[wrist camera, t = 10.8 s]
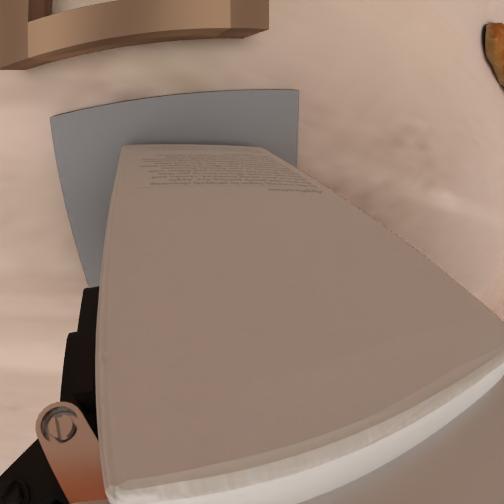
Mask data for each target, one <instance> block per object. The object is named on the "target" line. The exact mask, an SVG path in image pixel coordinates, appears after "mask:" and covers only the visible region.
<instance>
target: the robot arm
mask: <svg viewBox="0 0 504 504" xmlns="http://www.w3.org/2000/svg"><path fill="white" fill-rule="evenodd" d="M99 287H100V286H97V287H91V288H85V289H84V291H83V297H82V303H81V309H80V316H79V323H78V330H77V332H72V333H69V334H68V337H67V343H66V350H65V357H64V366H63V375H62V385H61V397H60V402H56V403H53V404H50V405H49V406H47V407H46V408H44V409H43V411H42V412H41V413H40V414H39V416H38V418H37V421H36V433H37V437H38V439H37V440H36V441H35V442H34V443H33V444H32V445H31V446H30V447H29V448H28V449H27V450H26V451H25V452H24V453H23V454H22V455H21V456H20V457H19V458H18V459H17V460H16V461H15V462H14V463H13V464H12V465H11V466H10V467H9V468H8V469H7V470H6V471H5V472H4V473H3V474H2V475H1V476H0V504H111V503H110V502H109V501H108V498H107V495H106V493H105V488H104V481H103V474H102V466H101V458H100V449H99V438H98V425H97V410H96V379H95V353H96V325H97V312H98V300H99ZM297 504H504V375H503V377H502V378H501V379H500V380H499V381H498V382H497V383H496V384H495V385H494V386H493V387H492V388H491V389H490V390H489V391H487V392H486V393H485V394H484V395H483V396H482V397H481V398H480V399H478V400H477V401H476V402H475V403H473V404H472V405H471V406H470V407H468V408H467V409H466V410H465V411H463V412H462V413H461V414H459V415H458V416H457V417H455V418H454V419H453V420H452V421H450V422H449V423H448V424H446V425H445V426H443V427H442V428H441V429H439V430H438V431H436V432H435V433H434V434H432V435H431V436H429V437H428V438H426V439H425V440H423V441H422V442H420V443H419V444H417V445H416V446H414V447H413V448H411V449H410V450H408V451H406V452H405V453H403V454H401V455H400V456H398V457H397V458H395V459H393V460H391V461H390V462H388V463H386V464H384V465H383V466H381V467H379V468H377V469H375V470H373V471H372V472H370V473H368V474H366V475H364V476H362V477H360V478H358V479H356V480H354V481H352V482H350V483H348V484H345V485H343V486H341V487H339V488H336V489H334V490H332V491H329V492H327V493H324V494H322V495H319V496H317V497H314V498H311V499H309V500H306V501H303V502H300V503H297Z"/></svg>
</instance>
